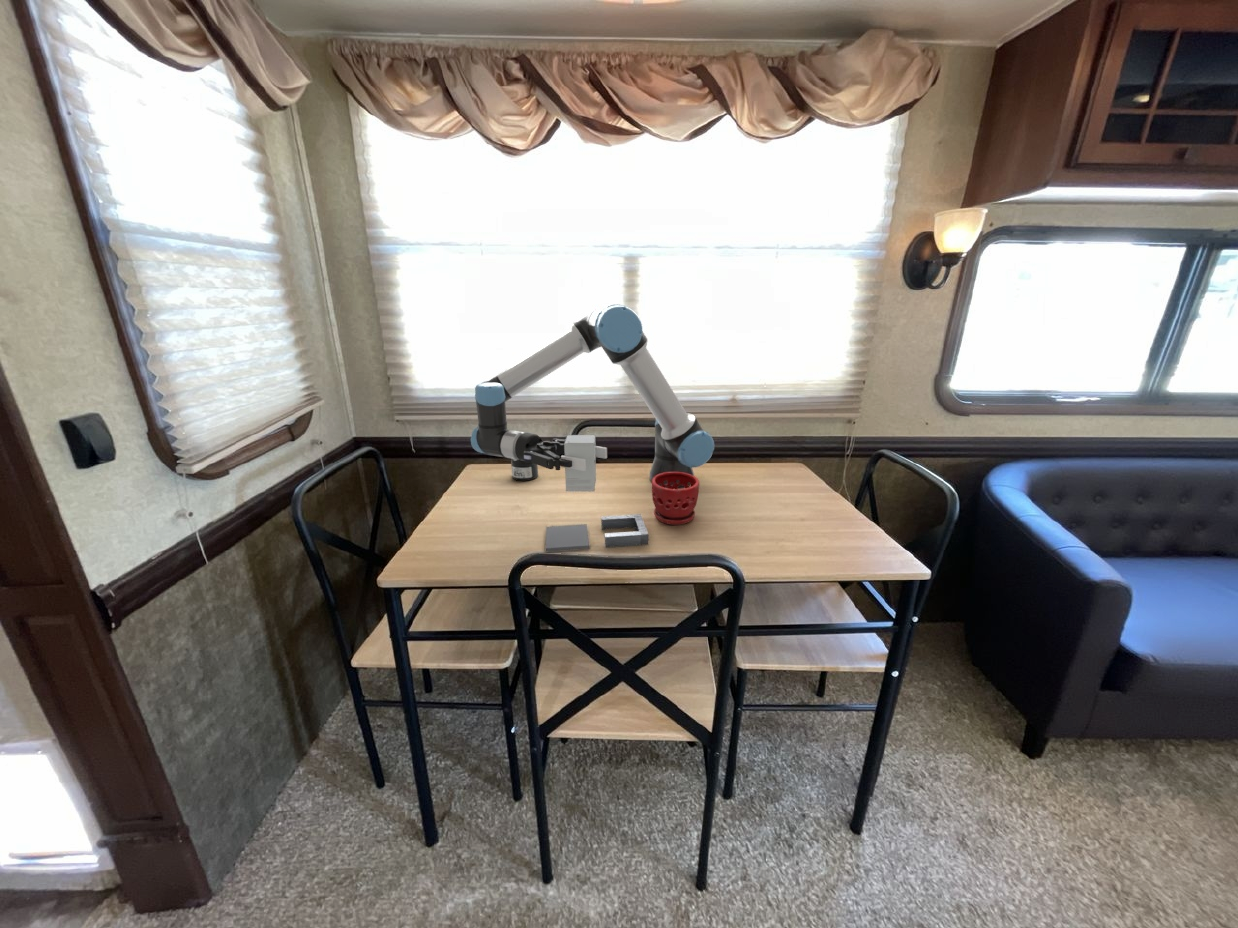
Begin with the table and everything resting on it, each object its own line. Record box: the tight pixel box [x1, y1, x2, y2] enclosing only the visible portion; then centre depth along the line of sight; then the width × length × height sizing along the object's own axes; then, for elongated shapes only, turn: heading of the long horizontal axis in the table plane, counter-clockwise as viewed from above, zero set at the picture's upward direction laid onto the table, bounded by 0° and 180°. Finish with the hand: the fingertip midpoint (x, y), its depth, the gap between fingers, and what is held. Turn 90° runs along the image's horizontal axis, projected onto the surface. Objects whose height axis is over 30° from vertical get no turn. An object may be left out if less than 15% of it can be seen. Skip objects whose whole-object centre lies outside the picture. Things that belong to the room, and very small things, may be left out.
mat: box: [545, 523, 591, 553], centre depth 129 cm, size 11×12×1 cm
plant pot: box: [651, 472, 700, 526], centre depth 138 cm, size 13×13×12 cm
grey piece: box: [600, 513, 649, 549], centre depth 130 cm, size 11×12×3 cm
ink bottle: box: [510, 459, 539, 482], centre depth 171 cm, size 10×9×12 cm
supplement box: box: [564, 434, 597, 493], centre depth 122 cm, size 7×7×13 cm
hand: (596, 459), depth 120 cm, fingers closed on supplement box, 9 cm apart
